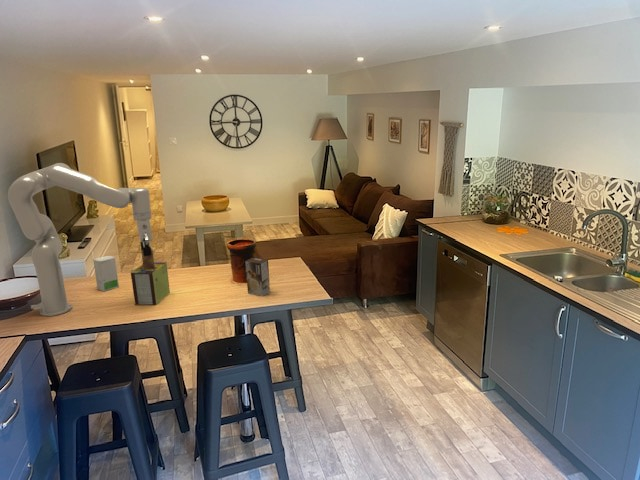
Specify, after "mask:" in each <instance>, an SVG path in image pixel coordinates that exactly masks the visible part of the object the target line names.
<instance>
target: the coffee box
mask: <svg viewBox="0 0 640 480" xmlns="http://www.w3.org/2000/svg"><path fill="white" fill-rule="evenodd" d="M245 262H246V275H247V284H246V285H247V286H246V287H247V293H248V294H251V295H256V296H261V297H264V296H265V295H268V294H269V293H271V288H270V284H271V283H270V273H269V270H270V269H269V259H265V258H257V257H254V258H251V259H249V260H247V261H245Z"/></svg>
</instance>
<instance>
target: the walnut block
mask: <svg viewBox="0 0 640 480" xmlns="http://www.w3.org/2000/svg"><path fill="white" fill-rule="evenodd" d="M140 252H141V259H142V261H141V262H142V264H143V267H144V269H149V268H155V266H154V262H155V259H154V251H153V248H152V247H151V255H150V256H144V253H143V249H142V250H141V249H140Z"/></svg>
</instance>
